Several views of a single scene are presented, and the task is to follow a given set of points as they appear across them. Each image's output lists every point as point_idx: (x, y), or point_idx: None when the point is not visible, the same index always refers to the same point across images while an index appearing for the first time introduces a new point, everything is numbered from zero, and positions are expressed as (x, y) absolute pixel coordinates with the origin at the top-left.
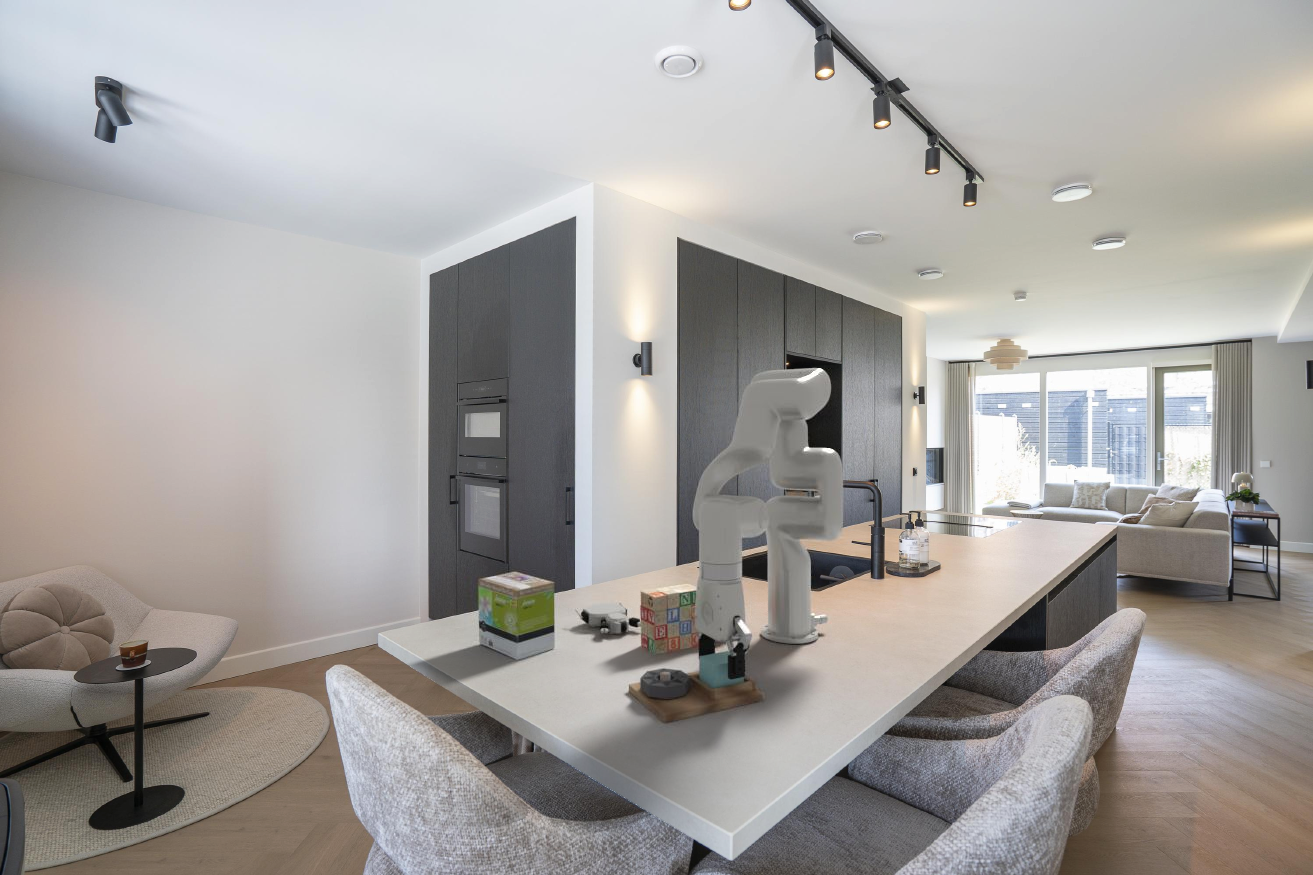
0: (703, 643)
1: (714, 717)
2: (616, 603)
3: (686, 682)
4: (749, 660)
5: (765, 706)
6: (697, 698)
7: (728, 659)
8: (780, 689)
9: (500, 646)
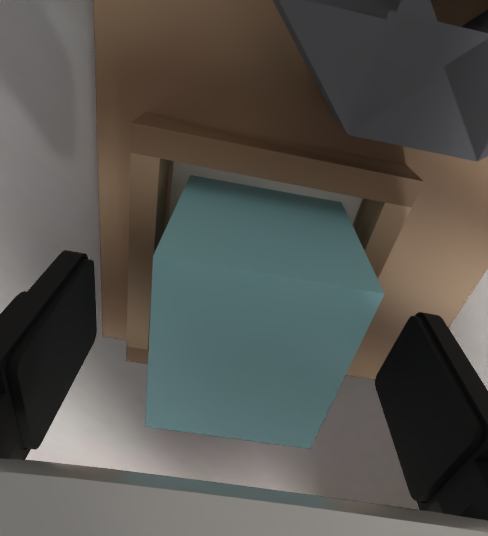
0: (451, 420)
1: (45, 31)
2: None
3: (300, 42)
4: (388, 469)
5: None
6: (211, 63)
7: (5, 334)
8: None
9: None
